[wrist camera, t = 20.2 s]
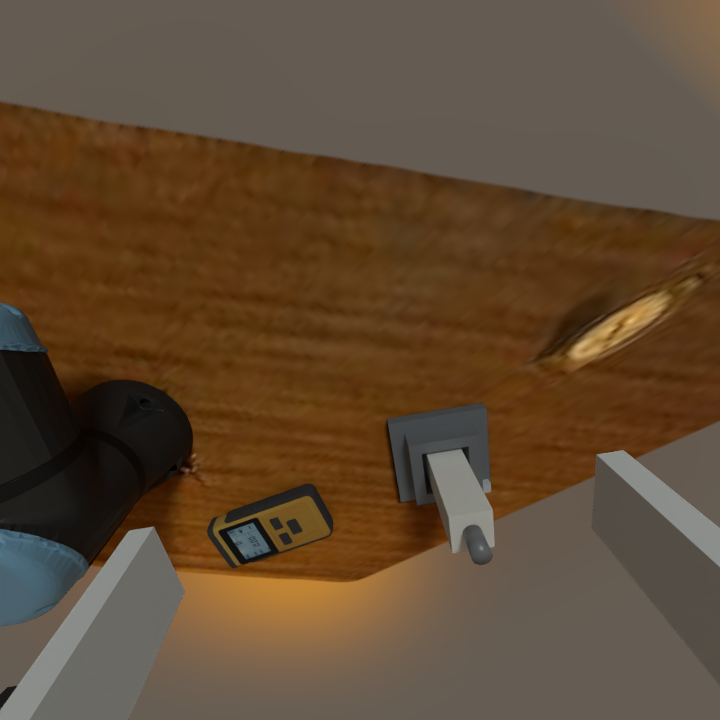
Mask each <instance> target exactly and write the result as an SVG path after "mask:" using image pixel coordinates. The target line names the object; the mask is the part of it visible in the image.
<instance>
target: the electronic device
mask: <svg viewBox="0 0 720 720" xmlns="http://www.w3.org/2000/svg"><path fill="white" fill-rule="evenodd" d="M332 531H333V520H332V517H331V515H330V513H329V511H328V510H327V508H326V506H325V504H324V502H323V501H322V499H321V497H320V495H319V493H318V491H317V490H316V488H315V487H314V486H313V485H312V484H305V485H302V486H299V487H297V488H294V489H291V490H288V491H285V492H283V493H280V494H277V495H274V496H271V497H269V498H266V499H263V500H260V501H257V502H255V503H252V504H249V505H246V506H243V507H240V508H238V509H235V510H232V511H230V512H228V513H227V514H225V515H222V516H219V517H216V518H213V519H212V521H211V523H210V525H209V527H208V530H207V533H208V536H209V538H210V539H211V541H212V542H213V544H214V545H215V546H216V548H217V549H218V550H219V552H220V553H221V554H222V556H223V557H224V559H225V560H226V561H227V563H228V564H229V565H230V567H232V568H235V567H238V566H240V565H243V564H246V563H249V562H256V561H259V560H262V559H265V558H267V557H270V556H273V555H276V554H279V553H282V552H285V551H288V550H291V549H294V548H297V547H300V546H303V545H306V544H309V543H312V542H315V541H318V540H321V539H324V538H327V537H329V536H330V535H331V533H332Z"/></svg>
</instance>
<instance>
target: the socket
mask: <svg viewBox="0 0 720 720" xmlns="http://www.w3.org/2000/svg"><path fill="white" fill-rule="evenodd" d="M387 422H388V428H389V434H390V440H391V446H392V452H393V458H394V464H395V470H396V476H397V483H398V489H399V495H400V500H401V502H405V501H411V500H416V503H417V505H423V504H430V503H436V501H435V498H434V494H433V491H432V488H431V485H430V482H429V479H428V476H427V470H426V462H425V453H432V452H438V451H444V450H450V449H456V448H461V449H462V451H463V453H464V455H465V457H466V459H467V461H468V463H469V465H470V467H471V469H472V471H473V473H474V475H475V477H476V479H477V480H478V482H479V484H480V486H481V488H482V490H483V492H484V493H487V492H491V483H490V465H489V447H488V429H487V411H486V407H485V406H484V404H483V403H478V404H472V405H466V406H460V407H454V408H449V409H443V410H437V411H431V412H425V413H419V414H413V415H407V416H401V417H395V418H389V419H387Z"/></svg>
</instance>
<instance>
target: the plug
mask: <svg viewBox="0 0 720 720" xmlns="http://www.w3.org/2000/svg"><path fill="white" fill-rule="evenodd" d="M425 462H426V470H427V476H428V479H429V482H430V485H431V488H432V491H433V494H434V498H435V501H436V504H437V507H438V510H439V513H440V516H441V519H442V522H443V525H444V529H445V532H446V535H447V538H448V541H449V544H450V547H451V550H452V553H458V552H464V551H469V553H470V555H471V558H472V561H473V562H474V563H475V564H478V565H483V564H486V563H488V562H490V561H491V559H492V557H493V555H492V552H491V550H490V547H495V544H494V527H493V510H492V508H491V506H490V504H489V502H488V500H487V498H486V496H485V494H484V492H483V490H482V488H481V486H480V484H479V482H478V480H477V479H476V477H475V475H474V473H473V471H472V469H471V467H470V465H469V463H468V461H467V459H466V457H465V455H464V453H463V451H462V449H461V448H456V449H450V450H444V451H438V452H432V453H425Z"/></svg>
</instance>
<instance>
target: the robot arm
mask: <svg viewBox="0 0 720 720" xmlns="http://www.w3.org/2000/svg"><path fill="white" fill-rule="evenodd" d="M47 353H48V349H47V348H46V347H44V346H42V344H41V342H40V340H39V338H38V336H37V335H36V333H35V331H34V329H33V327H32V325H31V323H30V321H29V319H28V318H27V316H26V315H25V314H24V313H23V312H22V311H21V310H19V309H18V308H16V307H14V306H11V305H8V304H5V303H0V626H8V625H15V624H20V623H24V622H27V621H29V620H32V619H35V618H37V617H39V616H41V615H43V614H45V613H46V612H48V611H49V610H51V609H52V608H53V607H54V606H55V605H56V604H58V603H59V601H60V600H61V599H62V598H63V597H64V595H65V594H66V593H67V592H68V591H69V590H70V589H71V587H72V586H73V585H74V584H75V583H76V582H77V580H79V579H80V578H82V577H83V576H84V574H85V573H86V571H87V570H88V568H89V567H90V566H91V564H92V563H93V561H94V560H95V559H96V557H97V556H98V555H99V553H100V552H101V551H102V549H103V548H104V546H105V545H106V544H107V542H108V541H109V540H110V538H111V537H112V535H113V534H114V533H115V531H116V530H117V529H118V527H119V526H120V525H121V523H122V522H123V520H124V519H125V518H126V516H127V515H128V514H129V512H130V511H131V510H132V508H133V507H134V505H135V504H136V503H137V501H138V500H139V499H140V498H141V497H142V496H143V495H145V494H146V493H148V492H150V491H151V490H153V489H154V488H156V487H157V486H159V485H161V484H162V483H164V482H165V481H167V480H168V479H170V478H171V477H172V476H173V475H174V474H175V473H176V472H177V471H178V470H179V469H180V467H181V466H182V464H183V463H184V462H185V460H186V459H187V457H188V455H189V453H190V450H191V446H192V430H191V426H190V423H189V421H188V418H187V417H186V415H185V413H184V412H183V410H182V409H181V408H180V406H179V405H178V404H177V403H176V402H175V401H174V400H173V399H172V398H171V397H169V396H168V395H167V394H165V393H164V392H162V391H161V390H159V389H157V388H155V387H153V386H150V385H148V384H145V383H142V382H137V381H132V380H113V381H108V382H104V383H101V384H99V385H97V386H95V387H93V388H91V389H90V390H88V391H87V392H85V393H83V394H82V395H80V396H79V397H78V398H77V399H76V400H75V401H74V402H73V403H72V404H71V405H70V404H69V402H68V400H67V398H66V395H65V393H64V391H63V389H62V386H61V384H60V382H59V380H58V377H57V375H56V373H55V371H54V368H53V366H52V364H51V362H50V359H49V357H48V355H47ZM592 529H593V530H594V531H595V533H596V534H597V535H598V536H599V537H600V539H601V540H602V541H603V542H604V544H605V545H606V546H607V547H608V548H609V550H610V551H611V552H612V554H613V555H614V556H615V557H616V558H617V560H618V561H619V562H620V563H621V565H622V566H623V567H624V568H625V570H626V571H627V572H628V573H629V574H630V576H631V577H632V578H633V579H634V580H635V582H636V583H637V584H638V586H639V587H640V588H641V589H642V590H643V592H644V593H645V594H646V595H647V596H648V598H649V599H650V600H651V601H652V603H653V604H654V605H655V606H656V608H657V609H658V610H659V611H660V613H661V614H662V615H663V616H664V618H665V619H666V620H667V621H668V622H669V624H670V625H671V626H672V627H673V629H674V630H675V631H676V632H677V634H678V635H679V636H680V637H681V638H682V640H683V641H684V642H685V643H686V645H687V646H688V647H689V648H690V649H691V651H692V652H693V653H694V654H695V656H696V657H697V658H698V659H699V661H700V662H701V663H702V664H703V666H704V667H705V668H706V669H707V670H708V672H709V673H710V674H711V675H712V677H713V678H714V679H715V680H716V682H717V683H718V684H719V685H720V528H719V527H717V526H716V525H715V524H714V523H713V522H711V521H710V520H709V519H707V518H706V517H705V516H704V515H703V514H701V513H700V512H699V511H698V510H697V509H695V508H694V507H693V506H692V505H690V504H689V503H688V502H687V501H685V500H684V499H683V498H682V497H680V496H679V495H678V494H677V493H676V492H674V491H673V490H672V489H671V488H669V487H668V486H667V485H666V484H664V483H663V482H662V481H661V480H659V479H658V478H657V477H656V476H654V475H653V474H652V473H651V472H650V471H648V470H647V469H646V468H645V467H643V466H642V465H641V464H640V463H638V462H637V461H636V460H635V459H634V458H632V457H631V456H630V455H629V454H627V453H626V452H625V451H624V450H622V451H616V452H609V453H603V454H597V456H596V470H595V485H594V499H593V514H592ZM184 593H185V591H184V588H183V587H182V584H181V582H180V580H179V578H178V576H177V574H176V572H175V570H174V567H173V565H172V563H171V561H170V559H169V557H168V555H167V553H166V551H165V549H164V547H163V545H162V542H161V540H160V538H159V536H158V534H157V532H156V530H155V528H154V527H148V528H142V529H136V530H130V531H128V533H127V534H126V535H125V537H124V538H123V540H122V541H121V542H120V544H119V545H118V547H117V548H116V549H115V551H114V552H113V554H112V555H111V556H110V558H109V559H108V561H107V562H106V563H105V565H104V566H103V567H102V569H101V570H100V572H99V573H98V575H97V576H96V577H95V579H94V580H93V581H92V583H91V584H90V586H89V587H88V589H87V590H86V591H85V593H84V594H83V596H82V597H81V598H80V600H79V601H78V603H77V604H76V605H75V607H74V608H73V609H72V611H71V612H70V614H69V615H68V616H67V618H66V619H65V621H64V622H63V623H62V625H61V626H60V627H59V629H58V630H57V632H56V633H55V634H54V636H53V637H52V639H51V640H50V642H49V643H48V644H47V646H46V647H45V648H44V650H43V651H42V653H41V654H40V655H39V657H38V658H37V659H36V661H35V662H34V664H33V665H32V666H31V668H30V669H29V671H28V672H27V673H26V675H25V676H24V678H23V679H22V680H21V682H20V683H19V685H18V686H13V687H7V688H6V689H5V690H4V691H3V692H2V693H1V694H0V720H128V719H129V717H130V714H131V712H132V710H133V708H134V705H135V703H136V701H137V699H138V696H139V694H140V692H141V690H142V687H143V685H144V683H145V681H146V678H147V676H148V674H149V672H150V669H151V667H152V665H153V663H154V660H155V658H156V655H157V654H158V651H159V649H160V647H161V645H162V642H163V640H164V637H165V636H166V633H167V631H168V629H169V627H170V624H171V622H172V620H173V618H174V615H175V613H176V611H177V608H178V606H179V604H180V602H181V600H182V597H183V595H184Z"/></svg>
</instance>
